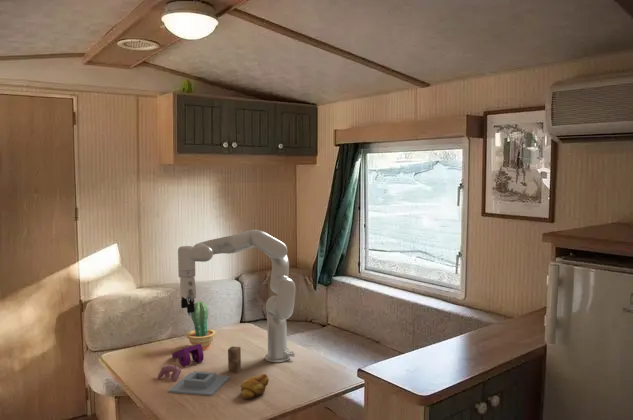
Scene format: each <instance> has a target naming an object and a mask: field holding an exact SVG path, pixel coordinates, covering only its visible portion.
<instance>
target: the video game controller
mask: <svg viewBox="0 0 633 420" xmlns="http://www.w3.org/2000/svg"><path fill="white" fill-rule="evenodd" d="M181 373H182V369H181V368H180V367H179V366H177V365H174V364H173V365H172V364H168V365H163V366H162V368H161V369H160V371H159V372H158V375H157V380H161V379H162V378H163V377H165V378H167V379H168V378H171V379H172V380H173V382H177V381H178V380H179V377H180V375H181Z"/></svg>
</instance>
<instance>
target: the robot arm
mask: <svg viewBox="0 0 633 420" xmlns="http://www.w3.org/2000/svg"><path fill="white" fill-rule="evenodd" d="M253 248H256V249H258V250H260V251H261V252H263V253H264V254H265V255H266V256H268V258H269V259H270V261H271V277H270V282H269V283H270V284H269V287H270V290H271V291H272V292H273V293H274V294H276V295H272V296H270V297H269V298H268V299H267V301H266V303H265V312H266V321H267V324H266V325H267V354H266V355H265V356H264V360H265V361H267V362H269V363H284V362H287V361H289V360H290V359H291V358H293V357H295V356H296V353H295V352H294V351H293V350H292V351H290V350H289V348H287V346H288V345H287V343H288V341H287V340H288V338H287V334H288V333H287V331H288V329H287V319H289V318H290V317H292V315H293V313H294V309H295V301H296V291H297V288H296V287H297V286H296V284H295V282H294V280H292V278H290V277H289V273H290V271H289V270H290V260H289V257H288V247H287V245H286V244H285V243H284V242H282V241H281V240H279V239H277V238H276V237H273V236H272V235H270V234H269V233H267V232H265V231H263V230H259V229H249V230H246V231H243V232H239V233H236V234H235V233H234V234H232V235H228V236H221V237H219V238H213V239H209V240H205V241H201V242H198V243H196V244H194V245H193V246H192V245H183V246H179V247H178V248H177V261H178V262H177V266H178V268H177V269H178V270H177V272H178V274H177V275H178V278H179V288H180V289H179V293H180V301H181V302H180V303H181V304H180V305H181V309H187V310H186V312H187V314H188V313H190V314H191V312H195V308H194V304H195V299H196V298H197V289H196V278H195V277H196V262H202V263H204V262H209V261H211V259H212V258H213V257H214V256H215V255H217V254H218V255H220V254H236V253H240V252H243V251H246V250H250V249H253Z"/></svg>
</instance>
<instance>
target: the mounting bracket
mask: <svg viewBox="0 0 633 420" xmlns="http://www.w3.org/2000/svg"><path fill="white" fill-rule="evenodd" d="M171 356H172V359H177V358H178V361H179V362H178V363H179V364H180V366H181V367H183V368H185V367H188V366H190V365H191V361H193V362H194V363H195V364H199V363H202V362H203V361H204V357H205V356H204V350H202V346H201V344H198V345H194V346H192V345H190V346H186V347H183V348H180V349H178V350H177V351H174V352H173V353H171ZM191 358H192V360H191Z"/></svg>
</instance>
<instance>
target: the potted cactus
mask: <svg viewBox="0 0 633 420" xmlns="http://www.w3.org/2000/svg"><path fill="white" fill-rule="evenodd" d="M194 308H195V312H191V313H188V312H187V315H188V316H189V317H190V318H191V320H192V323H193V325H194V326H193V327H194V330H191V331H188V332H186V338H187V339H188V341H189V343H190V344H191V346H194V345H198V344H201V346H202V350H203V351H207V350H209V349H210V348H211V344H212V342H213V339H214V337H215V335H216V331H215V330H214V329H208V318H209V307H208V306H207V304H206V303H205V302H204V301H201V300H199V301H194Z"/></svg>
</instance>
